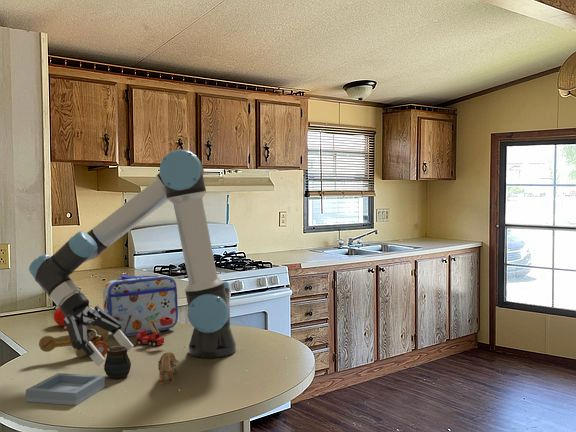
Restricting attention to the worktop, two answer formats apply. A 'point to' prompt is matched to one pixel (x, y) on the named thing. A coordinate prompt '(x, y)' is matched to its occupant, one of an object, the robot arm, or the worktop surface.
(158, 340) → the toy fire truck
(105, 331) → the toy helicopter
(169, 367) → the lion figurine
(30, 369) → the worktop surface
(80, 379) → the tray
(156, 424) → the worktop surface
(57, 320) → the tomato
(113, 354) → the mate gourd
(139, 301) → the lunch box
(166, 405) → the worktop surface
